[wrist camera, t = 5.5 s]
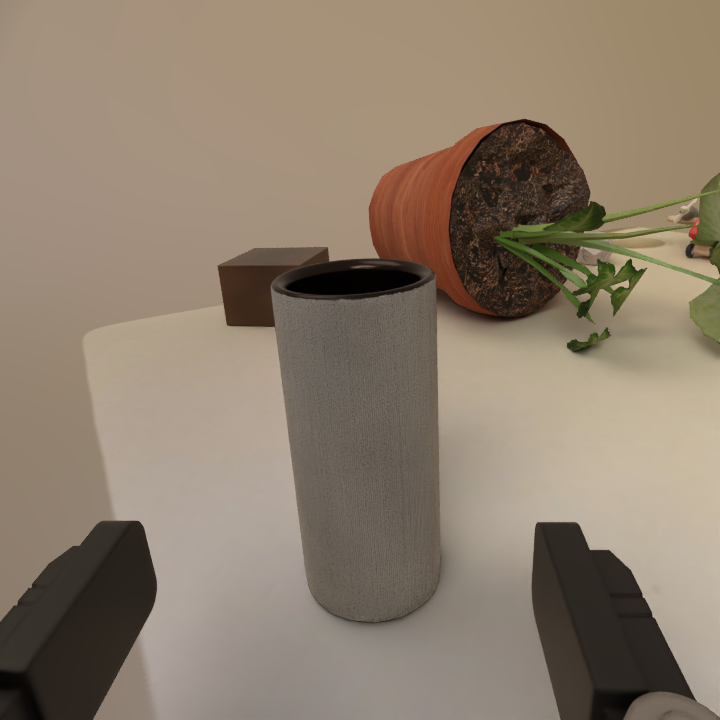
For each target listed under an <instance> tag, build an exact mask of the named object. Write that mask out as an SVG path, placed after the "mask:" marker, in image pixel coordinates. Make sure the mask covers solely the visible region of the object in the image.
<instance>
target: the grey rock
mask: <svg viewBox="0 0 720 720" xmlns="http://www.w3.org/2000/svg"><path fill="white" fill-rule="evenodd" d="M588 233H603V232H588ZM602 241H605V242H608V243H611V244H612V242H611V240H610V239H605V240H602ZM612 253H613V252H608V251H603V250H598V249H593V248H587V247H581V248H580V251H579V254H578V256H577V257H578V258H579V260H580V262H581V263H582V264H589V265H597V259H600V260H601V261H602V262H606V260H607V259H608V258H609V257H610V255H611V254H612Z"/></svg>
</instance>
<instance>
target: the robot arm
mask: <svg viewBox="0 0 720 720" xmlns="http://www.w3.org/2000/svg"><path fill="white" fill-rule="evenodd" d="M156 592H157V580H156V575H155V571H154V567H153V563H152V559H151V555H150V551H149V547H148V543H147V539H146V535H145V530H144V527H143V525H142V524H141V523H140V522H139V521H101V522H99V523H98V524H97V525H96V526H95V527H94V529H93V530H92V531H91V532H90V534H89V535H88V536H87V537H86V538H85V540H84V541H83V542H82V543H81V545H80V546H73V547H71V548H70V549H69V550H67V551H66V552H65V553H63V554H62V555H61V556H59V557H58V558H56V559H55V560H54V561H52V562H51V563H49V564H48V566H47V567H46V568H45V569H44V571H43V572H42V573H41V574H40V575H39V577H38V578H37V579H36V580H35V581H34V583H33V584H32V588H28V590H27V591H26V592H25V593H24V594H23V596H22V597H21V598H20V599H19V601H18V604H17V606H13V608H12V609H11V610H10V611H9V612H8V614H7V615H6V616H5V617H4V618H3V620H2V621H1V622H0V720H93V718H94V716H95V715H96V713H97V711H98V709H99V707H100V705H101V703H102V702H103V700H104V698H105V696H106V694H107V692H108V691H109V689H110V687H111V685H112V683H113V681H114V679H115V678H116V676H117V674H118V672H119V670H120V668H121V666H122V665H123V663H124V661H125V659H126V657H127V655H128V654H129V652H130V650H131V648H132V646H133V644H134V642H135V641H136V639H137V637H138V635H139V633H140V631H141V629H142V628H143V626H144V624H145V622H146V620H147V618H148V616H149V615H150V613H151V611H152V608H153V606H154V603H155V598H156ZM532 602H533V610H534V616H535V620H536V624H537V628H538V632H539V636H540V640H541V644H542V648H543V652H544V656H545V660H546V664H547V668H548V671H549V675H550V679H551V683H552V687H553V691H554V695H555V699H556V703H557V707H558V711H559V715H560V719H561V720H720V718H719V717H718V716H717V715H716V714H715V713H713V712H712V711H711V710H709V709H708V708H707V707H705V706H703V705H702V704H700V703H698V702H697V701H696V699H695V697H694V696H693V694H692V692H691V690H690V688H689V686H688V684H687V682H686V680H685V678H684V676H683V674H682V672H681V670H680V668H679V666H678V664H677V662H676V660H675V658H674V656H673V654H672V652H671V650H670V648H669V646H668V644H667V642H666V640H665V638H664V636H663V634H662V632H661V630H660V628H659V626H658V624H657V622H656V620H655V618H653V617H652V612H651V610H650V608H649V606H648V604H647V602H646V600H645V598H643V596H642V592H641V590H640V588H639V586H638V584H637V582H636V580H635V578H634V576H633V574H632V572H631V570H630V569H629V568H628V567H627V566H626V565H625V564H623V563H622V562H621V561H620V560H619V559H618V558H617V557H616V556H615V555H614V554H613V553H612V552H611V551H609V550H590V549H589V547H588V544H587V542H586V540H585V537H584V535H583V533H582V530H581V528H580V526H579V524H578V523H576V522H538V523H537V524H536V527H535V539H534V555H533V571H532Z"/></svg>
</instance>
